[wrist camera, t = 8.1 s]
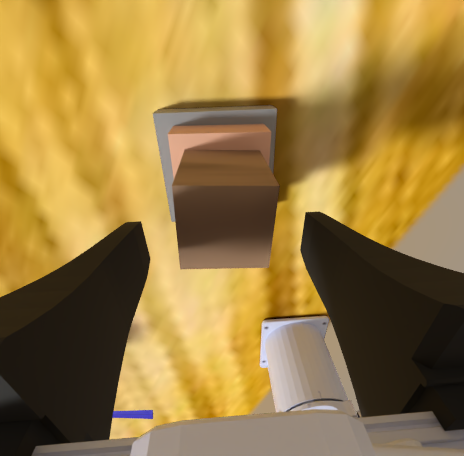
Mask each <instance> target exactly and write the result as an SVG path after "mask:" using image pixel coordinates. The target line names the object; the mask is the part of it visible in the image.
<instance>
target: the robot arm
mask: <svg viewBox="0 0 464 456" xmlns="http://www.w3.org/2000/svg"><path fill="white" fill-rule="evenodd" d="M300 250H301V253H302V257H303V260H304V263H305V266H306V269H307V271H308V273H309V275H310V277H311V279H312V281H313V283H314V286H315V288H316V290H317V292H318V294H319V296H320V298H321V300H322V302H323V304H324V306H325V308H326V310H327V312H328V314H329V317H330V319H331V322H332V325H333V327H334V330H335V333H336V336H337V338H338V341H339V344H340V347H341V350H342V353H343V356H344V359H345V362H346V365H347V368H348V371H349V375H350V378H351V382H352V385H353V388H354V391H355V395H356V399H357V402H358V406H359V409H360V410H359V411H357V414H356V412H355V409H354V407H353V404H352V402H351V401H350V400H348V398H347V396H346V393H345V390H344V388H343V385H342V383H341V381H340V378H339V376H338V373H337V371H336V368H335V366H334V363H333V361H332V359H331V356H330V354H329V351H328V349H327V346H326V344H325V341H324V338H325V334H326V330H327V326H328V323H329V318H328V317H327V316H314V317H300V318H286V319H272V320H264V321H263V322H262V332H261V351H260V367H262V368H266V367H268V371H269V376H270V382H271V387H272V393H273V398H274V404H275V409H276V413H264V414H252V415H241V416H229V417H218V418H206V419H194V420H183V421H178V422H173V423H169V424H164V425H159V426H156V427H154V428H152V429H151V430H149V431H148V432H146V433H145V434H143V435H141V436H140V437H133V438H122V439H111V440H109V437H110V430H111V423H112V416H113V410H114V404H115V398H116V393H117V387H118V381H119V376H120V371H121V366H122V361H123V356H124V352H125V347H126V343H127V338H128V334H129V330H130V327H131V324H132V321H133V318H134V315H135V312H136V309H137V306H138V303H139V300H140V297H141V294H142V291H143V288H144V285H145V282H146V279H147V275H148V270H149V264H150V256H149V252H148V248H147V244H146V240H145V236H144V232H143V228H142V224H141V222H126V223H125V224H123V225H121V226H120V227H119V228H117V229H116V230H114V231H113V232H112V233H110V234H109V235H108V236H106V237H105V238H104V239H102V240H101V241H99V242H98V243H97V244H95V245H94V246H93V247H91V248H90V249H88V250H87V251H85V252H84V253H82V254H81V255H79V256H78V257H76V258H75V259H73V260H72V261H70V262H69V263H67V264H65V265H64V266H62V267H60V268H59V269H57V270H55V271H53V272H51V273H50V274H48V275H46V276H44V277H42V278H40V279H38V280H36V281H34V282H32V283H30V284H28V285H26V286H24V287H22V288H20V289H18V290H16V291H14V292H11V293H9V294H7V295H5V296H2V297H0V456H464V273H461V272H457V271H453V270H450V269H446V268H443V267H440V266H437V265H434V264H431V263H428V262H425V261H422V260H419V259H415V258H413V257H410V256H408V255H405V254H402V253H400V252H398V251H395V250H393V249H390V248H388V247H386V246H384V245H381V244H379V243H377V242H375V241H373V240H371V239H369V238H367V237H365V236H363V235H361V234H359V233H358V232H356V231H354V230H352V229H350V228H349V227H347V226H345V225H343V224H342V223H340V222H338V221H336V220H335V219H333V218H331V217H329V216H327V215H325V214H323V213H321V212H306V214H305V221H304V228H303V235H302V242H301V249H300ZM357 416H358V417H357Z"/></svg>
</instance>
